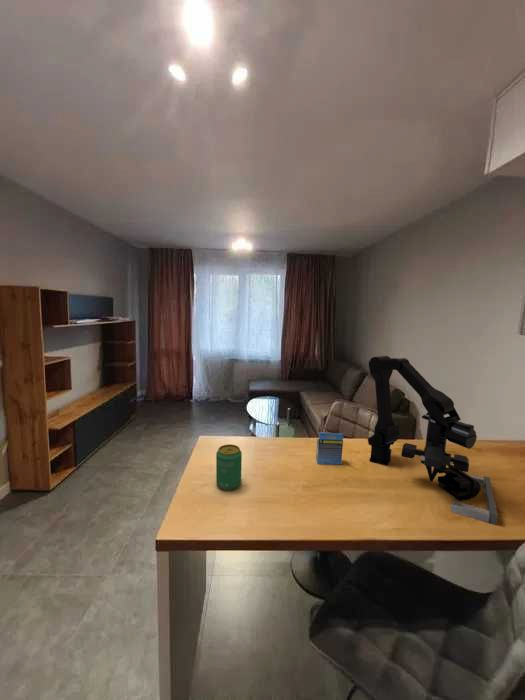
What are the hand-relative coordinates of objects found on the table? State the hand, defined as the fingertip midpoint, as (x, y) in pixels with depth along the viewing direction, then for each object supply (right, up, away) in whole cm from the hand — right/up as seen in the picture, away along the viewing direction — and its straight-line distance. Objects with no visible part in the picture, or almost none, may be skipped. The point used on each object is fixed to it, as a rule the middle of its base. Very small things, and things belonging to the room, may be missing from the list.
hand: (431, 481), depth 107 cm
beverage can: (-66, -1, 0) cm, 66 cm away
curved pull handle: (+9, -3, -5) cm, 11 cm away
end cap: (+7, -3, -2) cm, 8 cm away
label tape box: (-30, +1, +15) cm, 34 cm away
